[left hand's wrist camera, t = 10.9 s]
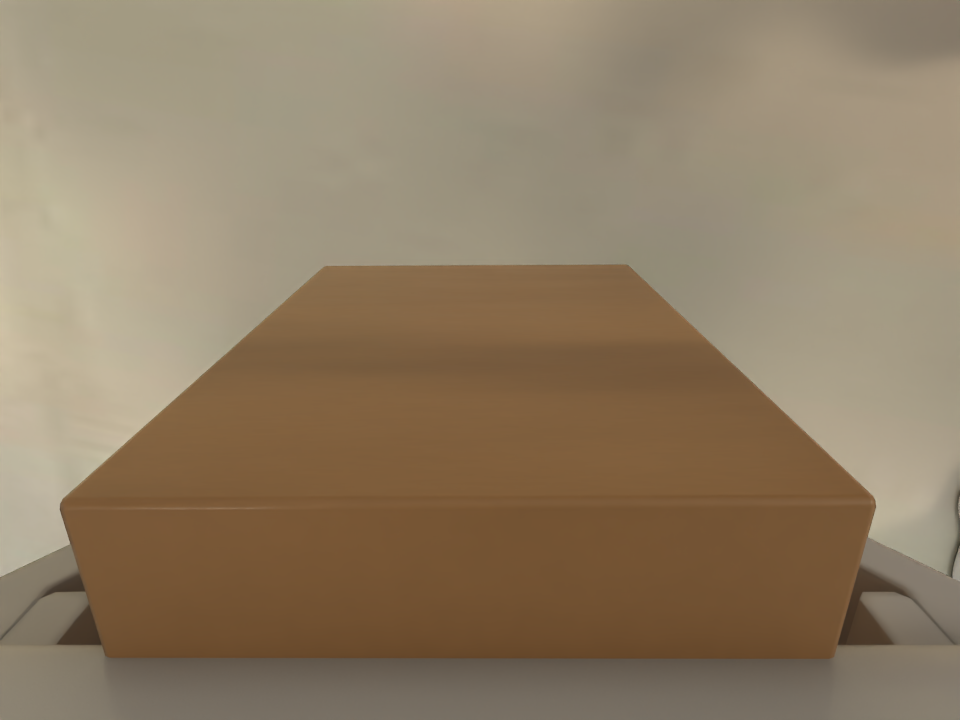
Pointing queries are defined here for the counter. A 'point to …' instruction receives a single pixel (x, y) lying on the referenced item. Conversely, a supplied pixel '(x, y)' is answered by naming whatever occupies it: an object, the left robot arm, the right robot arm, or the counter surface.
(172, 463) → the bar
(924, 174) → the counter surface
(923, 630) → the left robot arm
